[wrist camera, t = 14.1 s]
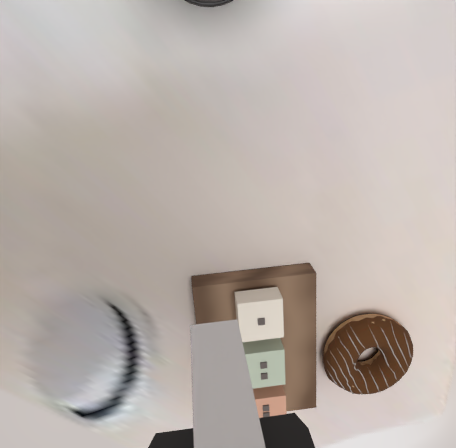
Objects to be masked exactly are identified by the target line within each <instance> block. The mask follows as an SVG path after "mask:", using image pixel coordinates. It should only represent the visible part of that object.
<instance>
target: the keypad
mask: <svg viewBox="0 0 456 448" xmlns="http://www.w3.org/2000/svg"><path fill="white" fill-rule="evenodd" d="M272 287H278V289H279V291H280V293H281V296H282V298H283V321H284V337H282V338H280V339H281V341H282V344H283V347H284V352H285V385H283V388H284V391H285V394H286V411H293V410H300V409H307V408H314V407H316V272H315V271H314V269H313V268H312V266H311V265H310V263H304V264H295V265H286V266H277V267H268V268H260V269H251V270H242V271H233V272H224V273H215V274H206V275H198V276H192V290H193V299H194V307H195V316H196V324H203V323H212V322H220V321H228V320H236V306H235V293H234V292H237V291H246V290H255V289H263V288H272Z"/></svg>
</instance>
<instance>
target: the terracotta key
mask: <svg viewBox="0 0 456 448" xmlns="http://www.w3.org/2000/svg"><path fill="white" fill-rule="evenodd" d="M253 393H254V397H255V402H256V406H257V411H258V415H259V418H262V417H269V416H276V415H283V414H286V394H285V391H284V388H283V385H277V386H270V387H262V388H255V389H253Z"/></svg>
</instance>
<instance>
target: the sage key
mask: <svg viewBox="0 0 456 448" xmlns="http://www.w3.org/2000/svg"><path fill="white" fill-rule="evenodd" d="M242 343H243V347H244V352H245V356H246V361H247V365H248V370H249V375H250V379H251V384H252V388H253V389H255V388H262V387H270V386H277V385H285V352H284V347H283V344H282V341H281V339H280V338H274V339H266V340H258V341H250V342H242Z"/></svg>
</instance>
